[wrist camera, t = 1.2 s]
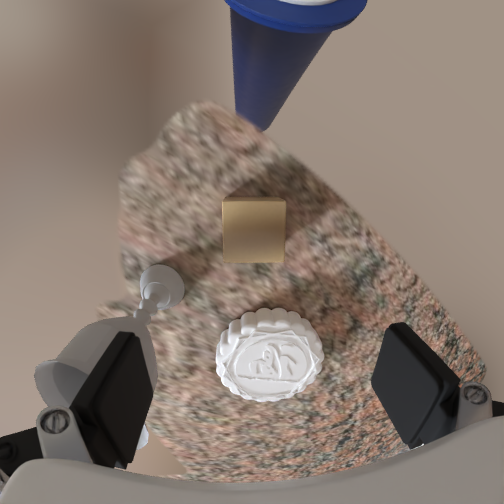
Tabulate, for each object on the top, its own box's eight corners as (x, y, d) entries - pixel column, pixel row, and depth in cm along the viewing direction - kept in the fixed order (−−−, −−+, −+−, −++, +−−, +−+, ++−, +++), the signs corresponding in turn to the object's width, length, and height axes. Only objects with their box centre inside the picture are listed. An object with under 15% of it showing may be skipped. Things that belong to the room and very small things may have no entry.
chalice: (119, 281, 27) (23, 386, 10) (158, 241, 26) (56, 337, 9) (166, 327, 29) (113, 458, 12) (207, 292, 28) (175, 434, 11)
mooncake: (330, 312, 29) (340, 328, 26) (302, 388, 33) (307, 407, 29) (224, 298, 28) (222, 314, 25) (211, 380, 31) (209, 400, 28)
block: (225, 196, 26) (221, 201, 21) (277, 196, 26) (286, 201, 21) (226, 247, 27) (223, 263, 22) (276, 247, 27) (284, 262, 22)
